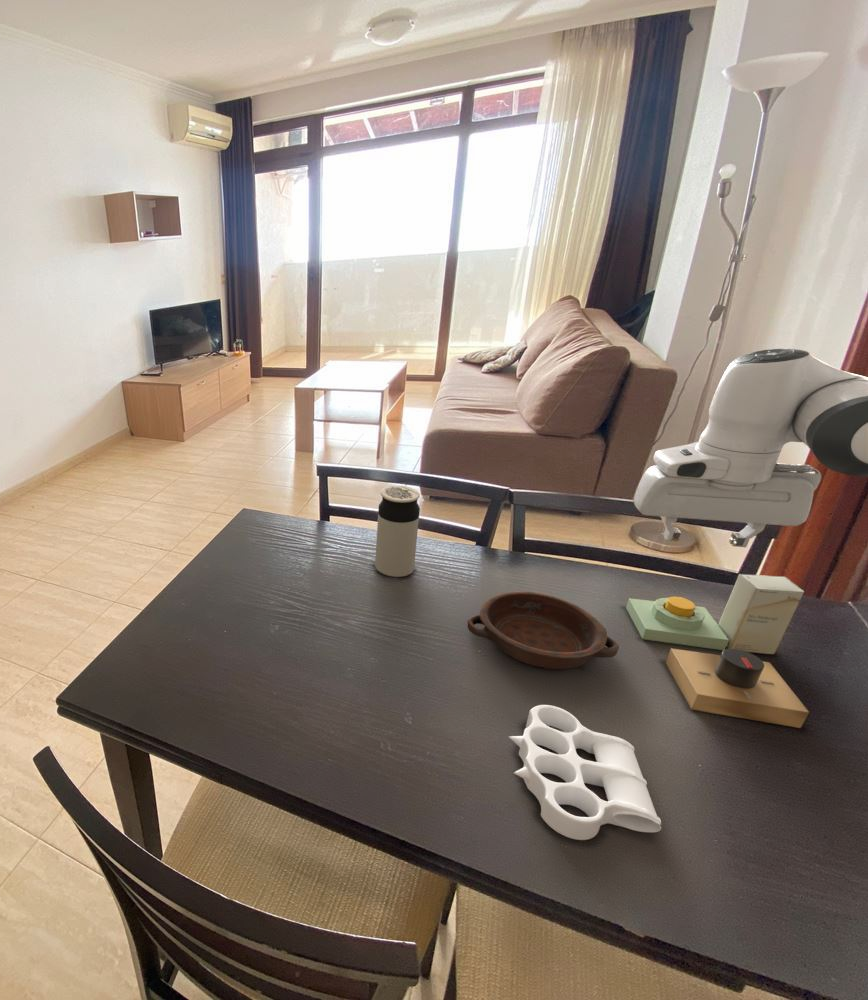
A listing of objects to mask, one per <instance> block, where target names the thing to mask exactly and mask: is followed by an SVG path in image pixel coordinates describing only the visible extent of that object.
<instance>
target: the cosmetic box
mask: <svg viewBox="0 0 868 1000" xmlns="http://www.w3.org/2000/svg"><path fill="white" fill-rule="evenodd" d="M804 593H805V591H804V589H802V588H800V587H799V586H798V585H797V584H795V583H794V582H793V581H791V580H790V579H789V578H788V577H786V576H783V575H780V576H779V575H765V574H748V573H747V574H746V573H739V574H738V575H737V578H736V581H735V583H734V586H733V589H732V591H731V593H730V595H729V598H728V600H727V603H726V605H725V607H724V609H723V612H722V615H721V617H720V619H719V622H718V623H717V625H718V626H719V627H720V629H721V630H722V631H723V633H724V634H725V635H726V637H727V638H728V639H729V641H728V644H727V646H726V649H738V650H742V651H746V652H748V653H755V654H765V655H775V654H776V651H777V650H778V647H779V646H780V643H781V641H782V639H783V638H784V635H785V633H786V632H787V631H786V630H787V629H788V626H789V624H790V623H791V620H792V618H793V616H794V614H795V612H796V610H797V608H798V606H799V603H800V601H801V599H802V597H803V595H804Z"/></svg>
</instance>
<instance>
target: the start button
mask: <svg viewBox="0 0 868 1000" xmlns="http://www.w3.org/2000/svg"><path fill="white" fill-rule="evenodd" d="M667 598H668V600H667V602H666V605H665V609H666V610H667V611H669V612H670V613H672V614H675V615H678V616H683V617H691V616H692V614H693V612H694V609H695V606H696V605H695V603H694V602H693V601H691V600H689V599H688V598H685V597H680V596H670V597H667Z"/></svg>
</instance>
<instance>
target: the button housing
mask: <svg viewBox="0 0 868 1000" xmlns="http://www.w3.org/2000/svg"><path fill="white" fill-rule="evenodd" d="M668 598H669V597H662V598H657V599H656V600H647V599H639V598H638V599H637V598H628V600H627V603H626V607H625V609H626V612H627V613H628V615H629V616H630V618H631V621H632V622H633V623H634V626H635V628H636V630H637V632H638V633H639V636H640V637H641V639H642V640H645V641H654V642H660V643H667V644H674V645H675V644H676V645H683V646H689V647H697V648H704V649H711V650H718V651H724V650H726V649H727V647H726V646H727V644H728V641H729V639H728V638H727V637H726V635H725V634H724V633H723V631H722V630H721V629H720V627H719V626H718V623H717V622H716V620H715V619H714V617H713V616H712V615H711V614H710V613H709V611H708V610H707V608H706V607H705V606H698V605H695V609H694V612H693V614H692V616H691V617H683V616H678V615H675V614H672V613H670V612H669V611H667V610H666V609H665V605H666V602H667V600H668Z"/></svg>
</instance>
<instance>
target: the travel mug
mask: <svg viewBox="0 0 868 1000" xmlns="http://www.w3.org/2000/svg"><path fill="white" fill-rule="evenodd" d="M380 496H381V499H382V500H381V501H380V503H379V504H378V510H377V526H376V527H377V528H376V543H375V556H374V557H375V559H374V567H375V569H376V570H377V571H378V572H379V573H380V574H383V575H386V576H389V577H396V578H398V577H406V576H409V575H410V574H412V573H413V572H414V570H415V562H416V551H417V541H418V530H419V522H420V510H421V508H420V505H419V504H418V501H419V499H420V496H421V494H420V492H419V490H417V489H415V488H414V487H411V486H406V485H391V486H390V485H389V486H387V487H383V488H382V490H381V491H380Z"/></svg>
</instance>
